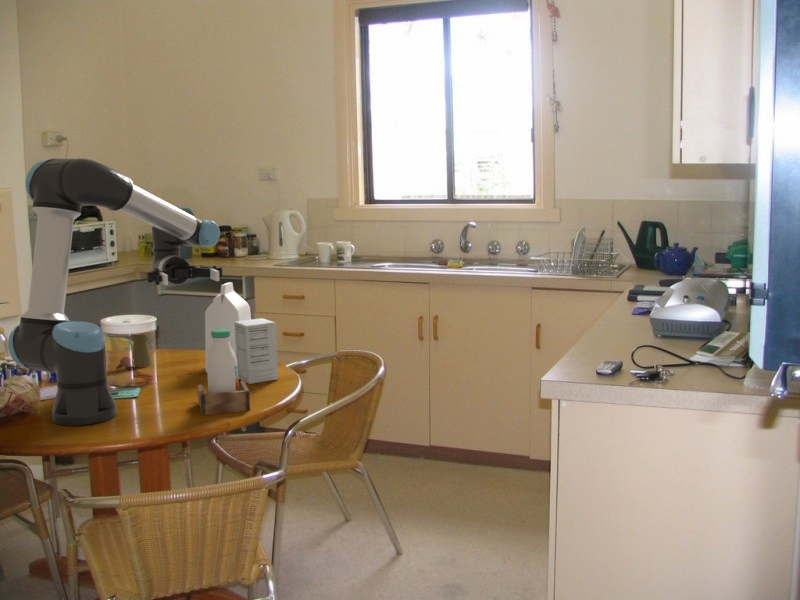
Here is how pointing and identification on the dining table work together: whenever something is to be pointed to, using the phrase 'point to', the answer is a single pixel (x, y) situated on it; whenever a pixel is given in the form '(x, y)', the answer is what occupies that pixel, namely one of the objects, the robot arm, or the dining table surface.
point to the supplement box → (256, 350)
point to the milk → (225, 315)
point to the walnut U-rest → (224, 401)
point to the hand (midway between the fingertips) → (192, 278)
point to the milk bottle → (222, 364)
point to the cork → (141, 350)
